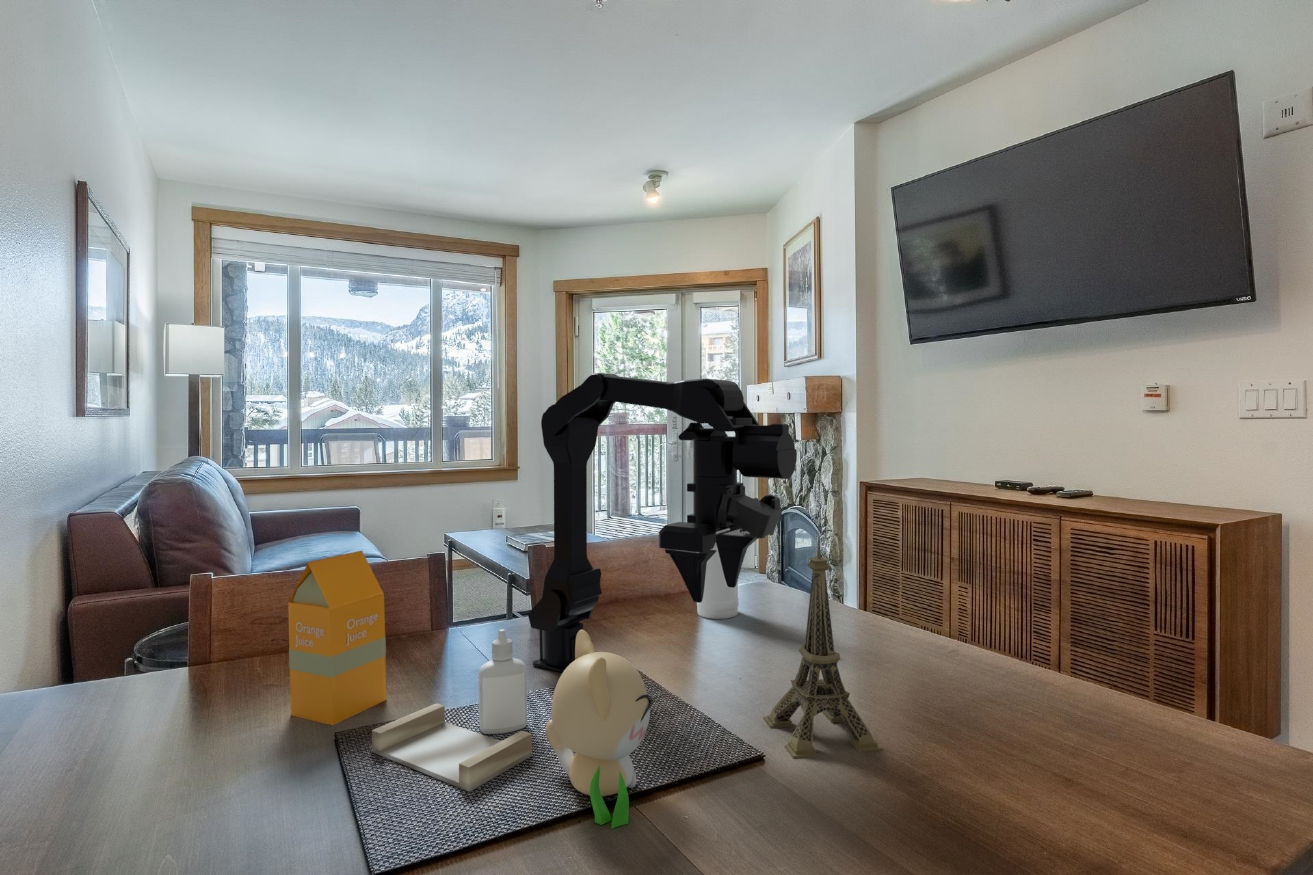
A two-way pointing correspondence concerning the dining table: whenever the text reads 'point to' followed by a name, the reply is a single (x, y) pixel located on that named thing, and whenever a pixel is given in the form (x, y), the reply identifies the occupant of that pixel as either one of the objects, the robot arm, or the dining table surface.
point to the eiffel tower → (817, 691)
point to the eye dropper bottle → (502, 690)
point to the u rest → (448, 748)
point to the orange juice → (336, 640)
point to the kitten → (599, 726)
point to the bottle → (717, 592)
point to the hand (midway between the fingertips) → (715, 594)
